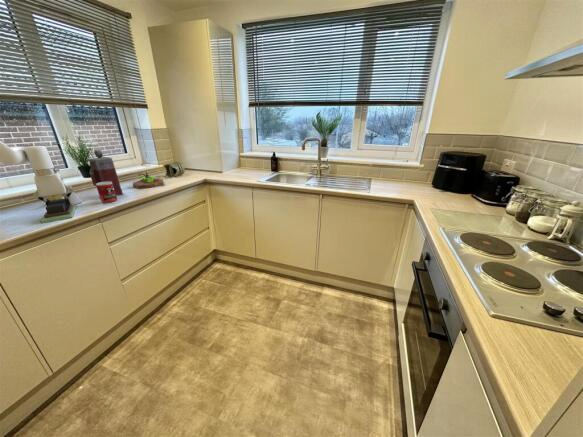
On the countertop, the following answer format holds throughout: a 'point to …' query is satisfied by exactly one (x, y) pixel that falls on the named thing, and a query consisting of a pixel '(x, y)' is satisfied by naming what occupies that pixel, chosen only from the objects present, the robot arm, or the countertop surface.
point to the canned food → (106, 192)
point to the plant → (147, 182)
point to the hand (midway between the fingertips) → (59, 206)
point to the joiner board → (60, 214)
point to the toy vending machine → (104, 171)
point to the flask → (73, 197)
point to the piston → (174, 169)
